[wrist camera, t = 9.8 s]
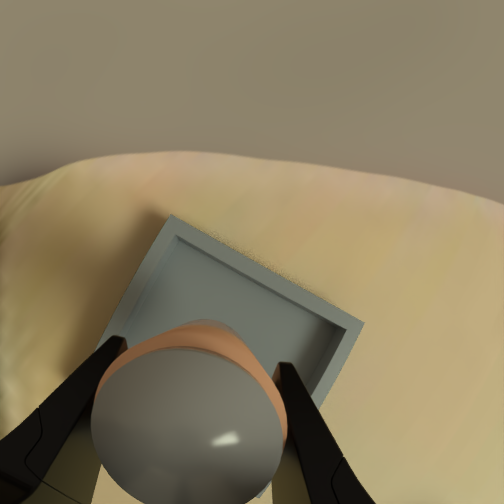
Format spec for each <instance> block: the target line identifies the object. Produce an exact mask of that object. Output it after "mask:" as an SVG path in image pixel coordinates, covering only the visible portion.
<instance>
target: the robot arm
mask: <svg viewBox="0 0 504 504" xmlns="http://www.w3.org/2000/svg"><path fill="white" fill-rule="evenodd" d="M127 350H128V346H127V341H126V338H125V337H122V336H118V335H112V336H111V337H110V338H108V339H107V340H106V341H105V342H104V343H103V344H102V345H101V346H100V347H99V348H98V349H97V350H96V351H95V352H94V353H93V354H92V355H91V356H90V357H88V358H87V359H86V360H85V361H84V362H83V363H82V364H81V365H80V366H79V367H78V368H77V369H76V370H75V371H74V372H73V373H72V374H71V375H70V376H69V377H68V378H67V379H66V380H65V381H64V382H63V383H62V384H61V385H60V386H59V387H58V388H57V389H56V390H54V391H53V392H52V393H51V394H50V395H49V396H48V397H47V398H46V399H45V400H44V401H43V402H42V403H41V404H40V405H39V408H36V409H35V410H34V411H33V412H32V413H31V414H30V415H29V416H28V417H27V418H26V419H25V420H24V421H23V422H22V423H21V424H20V425H19V426H17V427H16V428H15V429H14V430H13V431H11V432H10V433H9V434H8V435H7V436H5V437H4V438H3V439H1V440H0V504H91V502H92V498H93V494H94V490H95V486H96V482H97V478H98V475H99V471H100V467H101V464H102V463H101V461H100V459H99V457H98V455H97V452H96V450H95V447H94V443H93V439H92V433H91V414H92V409H93V405H94V400H95V395H96V391H97V388H98V385H99V383H100V380H101V379H102V377H103V375H104V373H105V371H106V370H107V369H108V368H109V366H110V365H111V364H112V362H113V361H115V360H116V359H117V358H118V357H119V356H120V355H121V354H122V353H124V352H125V351H127ZM272 381H273V383H274V384H275V386H276V388H277V390H278V391H279V393H280V396H281V398H282V401H283V403H284V407H285V411H286V416H287V438H286V443H285V448H284V450H283V453H282V456H281V460H280V463H279V466H278V468H277V471H276V473H275V474H274V476H273V478H272V479H271V482H272V499H273V504H376V503H375V502H374V501H373V499H372V498H371V497H370V495H369V494H368V493H367V492H366V490H365V489H364V487H363V486H362V485H361V483H360V482H359V480H358V479H357V477H356V476H355V474H354V472H353V471H352V469H351V467H350V466H349V464H348V462H347V460H346V459H345V457H343V453H342V452H341V450H340V448H339V446H338V444H337V443H336V441H335V439H334V437H333V436H332V434H331V432H330V430H329V428H328V427H327V425H326V423H325V421H324V419H323V418H322V416H321V414H320V412H319V410H318V409H317V407H316V405H315V403H314V401H313V399H312V398H311V396H310V394H309V392H308V390H307V389H306V387H305V385H304V383H303V381H302V379H301V378H300V376H299V374H298V372H297V370H296V368H295V367H294V365H293V364H292V363H291V362H283V361H280V362H278V364H277V366H276V368H275V371H274V373H273V376H272Z"/></svg>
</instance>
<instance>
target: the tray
mask: <svg viewBox="0 0 504 504" xmlns="http://www.w3.org/2000/svg"><path fill="white" fill-rule="evenodd" d="M197 319H211V320H216V321H219V322H222V323H224V324H226V325H228V326H230V327H231V328H233V329H234V330H235V331H236V332H237V333H238V334H239V335H240V336H241V338H242V339H243V340H244V342H245V343H246V345H247V346H248V347H249V349H250V350H251V352H252V353H253V355H254V356H255V357H256V359H257V360H258V362H259V363H260V364H261V366H262V367H263V369H264V370H265V371H266V373H267V374H268V376H269V377H270V378H271V380H272V376H273V373H274V371H275V368H276V366H277V364H278V362H280V361H283V362H291V363H292V364H293V365H294V367H295V368H296V370H297V372H298V374H299V376H300V378H301V379H302V381H303V383H304V385H305V387H306V389H307V390H308V392H309V394H310V396H311V398H312V399H313V401H314V403H315V405H316V407H317V409H318V410H319V408H320V406H321V405H322V403H323V401H324V400H325V398H326V396H327V394H328V393H329V391H330V389H331V387H332V385H333V384H334V382H335V380H336V378H337V376H338V375H339V373H340V371H341V369H342V367H343V365H344V363H345V361H346V359H347V358H348V356H349V354H350V352H351V350H352V348H353V346H354V344H355V342H356V340H357V338H358V336H359V334H360V332H361V330H362V327H363V325H364V322H362V321H361V320H359V319H357V318H355V317H353V316H352V315H350V314H348V313H346V312H344V311H343V310H341V309H339V308H337V307H335V306H333V305H332V304H330V303H328V302H326V301H324V300H323V299H321V298H319V297H317V296H315V295H314V294H312V293H310V292H308V291H307V290H305V289H303V288H301V287H299V286H298V285H296V284H294V283H292V282H290V281H289V280H287V279H285V278H283V277H281V276H280V275H278V274H276V273H274V272H272V271H271V270H269V269H267V268H265V267H264V266H262V265H260V264H258V263H256V262H255V261H253V260H251V259H249V258H247V257H246V256H244V255H242V254H240V253H239V252H237V251H235V250H233V249H231V248H230V247H228V246H226V245H224V244H223V243H221V242H219V241H217V240H216V239H214V238H212V237H210V236H208V235H207V234H205V233H203V232H201V231H200V230H198V229H196V228H194V227H192V226H191V225H189V224H187V223H185V222H184V221H182V220H180V219H178V218H177V217H175V216H173V215H170V216H169V218H168V219H167V221H166V223H165V224H164V226H163V228H162V229H161V231H160V232H159V234H158V236H157V237H156V239H155V241H154V242H153V244H152V246H151V247H150V249H149V251H148V253H147V254H146V256H145V258H144V259H143V261H142V263H141V265H140V266H139V268H138V270H137V272H136V273H135V275H134V277H133V279H132V281H131V282H130V284H129V286H128V288H127V290H126V291H125V293H124V295H123V297H122V299H121V301H120V302H119V304H118V306H117V308H116V310H115V312H114V314H113V316H112V318H111V319H110V321H109V323H108V325H107V327H106V329H105V331H104V333H103V335H102V337H101V339H100V341H99V343H98V345H97V347H96V349H95V351H96V350H97V349H98V348H99V347H100V346H101V345H102V344H103V343H104V342H105V341H106V340H107V339H108V338H110V337H111V336H112V335H118V336H122V337H125V338H126V341H127V346H128V349H130V348H131V347H133V346H135V345H137V344H139V343H141V342H143V341H145V340H148V339H150V338H152V337H155V336H157V335H159V334H161V333H164V332H166V331H168V330H171V329H173V328H175V327H177V326H180V325H182V324H184V323H186V322H189V321H192V320H197ZM95 351H94V352H95ZM270 483H271V481H270V482H269V483H268V485H267V486H266V487H265V488H264V489H263V490H262V491H261V492H260V493H259V494H258V495H257V496H256V497H257V498H260V497H261V495H262V494H263V493H264V491H265V490H266V489H267V487H268V486H269V485H270Z"/></svg>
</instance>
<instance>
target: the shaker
mask: <svg viewBox="0 0 504 504" xmlns="http://www.w3.org/2000/svg"><path fill="white" fill-rule="evenodd" d="M91 433H92V439H93V443H94V447H95V450H96V452H97V455H98V457H99V459H100V461H101V463H102V465H103V466H104V468H105V469H106V471H107V472H108V474H109V475H110V476H111V478H112V479H113V480H114V481H115V482H116V483H117V484H118V485H119V486H120V487H121V488H122V489H124V490H125V491H126V492H127V493H128V494H130V495H131V496H133V497H134V498H136V499H137V500H139V501H141V502H143V503H144V504H245V503H247V502H249V501H250V500H251V499H253V498H254V497H256V496H257V495H258V494H259V493H260V492H261V491H262V490H263V489H264V488H265V487H266V486H267V485H268V483H269V482H270V481H271V479H272V478H273V476H274V474H275V473H276V471H277V468H278V466H279V463H280V460H281V456H282V453H283V450H284V448H285V443H286V438H287V416H286V411H285V407H284V403H283V401H282V398H281V396H280V393H279V391H278V390H277V388H276V386H275V384H274V383H273V381H272V380H271V378H270V377H269V376H268V374H267V373H266V371H265V370H264V369H263V367H262V366H261V364H260V363H259V362H258V360H257V359H256V357H255V356H254V355H253V353H252V352H251V350H250V349H249V347H248V346H247V345H246V343H245V342H244V340H243V339H242V338H241V336H240V335H239V334H238V333H237V332H236V331H235V330H234V329H233V328H231V327H230V326H228V325H226V324H224V323H222V322H219V321H216V320H211V319H197V320H192V321H189V322H186V323H184V324H182V325H180V326H177V327H175V328H173V329H171V330H168V331H166V332H164V333H161V334H159V335H157V336H155V337H152V338H150V339H148V340H145V341H143V342H141V343H139V344H137V345H135V346H133V347H131V348H130V349H128V350H127V351H125V352H124V353H122V354H121V355H120V356H119V357H118V358H117V359H116V360H115V361H113V362H112V364H111V365H110V366H109V368H108V369H107V370H106V371H105V373H104V375H103V377H102V379H101V380H100V383H99V385H98V388H97V391H96V395H95V400H94V405H93V409H92V414H91Z"/></svg>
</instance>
